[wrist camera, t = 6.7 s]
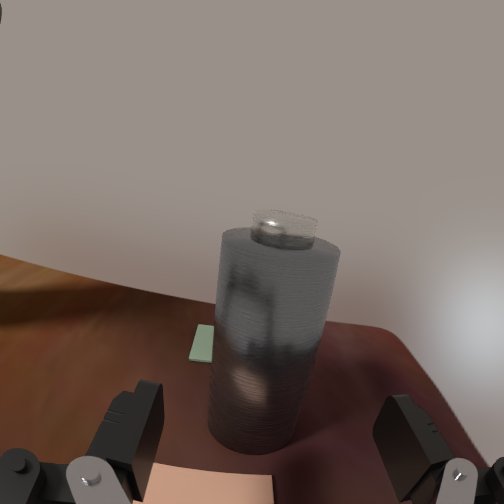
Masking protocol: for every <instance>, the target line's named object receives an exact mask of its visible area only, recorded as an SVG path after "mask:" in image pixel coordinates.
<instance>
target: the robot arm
mask: <svg viewBox="0 0 504 504" xmlns="http://www.w3.org/2000/svg"><path fill="white" fill-rule="evenodd" d="M1 15H2V8H1V4H0V22H1ZM163 425H164V401H163V386H162V384H161V383H156V382H151V381H146V380H140V381H139V382H138V384H137V386H136V389H135V391H134V393H132V392H127V391H123V392H122V393H120V394H119V395H118V396H117V397H115V398H114V399H113V401H112V403H111V405H110V407H109V409H108V412H106V414H105V416H104V420H103V421H102V422H101V424H100V426H99V429H98V431H97V433H96V435H95V437H94V439H93V441H92V443H91V445H90V447H89V449H88V451H87V453H86V454H85V456H83V457H79V458H77V459H75V460H73V461H72V462H71V463H70V464H53V463H44V462H39V461H38V459H37V458H36V456H35V455H34V454H33V453H31V452H30V451H28V450H25V449H21V448H15V449H11V450H8V451H6V452H5V453H4V454H3V455H2V456H1V457H0V504H133V500H135V501H139V502H143V500H144V496H145V492H146V489H147V485H148V481H149V477H150V474H151V470H152V466H153V463H154V459H155V455H156V452H157V448H158V444H159V441H160V437H161V434H162V430H163ZM373 438H374V441H375V443H376V445H377V448H378V450H379V453H380V455H381V458H382V460H383V462H384V465H385V467H386V470H387V472H388V475H389V477H390V480H391V482H392V485H393V487H394V490H395V492H396V495H397V498H398V500H399V502H403V501H407V500H411V501H412V503H413V504H495V503H496V502H498V504H504V457H501V458H499V459H498V460H497V461H496V462H495V463H494V464H493V466H492V467H489V468H476V467H475V466H474V464H473V463H471V462H470V461H468V460H466V459H463V458H455V456H454V454H453V453H452V451H451V450H450V448H449V446H448V445H447V443H446V441H445V440H444V438H443V437H442V435H441V433H440V432H438V429H437V427H436V425H434V422H433V421H432V419H431V418H430V416H429V414H428V413H427V412H425V411H424V410H423V409H422V408H420V407H419V406H416V405H415V403H414V402H413V400H412V399H411V397H410V396H409V395H407V394H405V395H393V396H388V397H387V399H386V400H385V403H384V405H383V407H382V409H381V411H380V413H379V415H378V417H377V419H376V421H375V424H374V427H373Z"/></svg>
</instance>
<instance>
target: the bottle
mask: <svg viewBox="0 0 504 504" xmlns="http://www.w3.org/2000/svg"><path fill="white" fill-rule="evenodd" d="M316 227H317V220H315V219H314V218H311V217H308V216H304V215H300V214H295V213H290V212H283V211H274V210H256V211H254V212H253V219H252V227H250V228H235V229H230V230H227V231H225V232H224V233H223V235H222V243H221V253H220V264H219V274H218V286H217V298H216V308H215V320H214V333H213V346H212V360H211V374H210V390H209V406H208V427H209V430H210V432H211V434H212V435H213V437H214V438H215V439H216V440H217V441H218V442H219V443H220V444H222V445H223V446H225V447H226V448H228V449H230V450H233V451H235V452H239V453H243V454H249V455H261V454H267V453H271V452H274V451H277V450H279V449H281V448H282V447H284V446H285V445H286V444H287V443H288V442H289V441H290V439H291V438H292V436H293V433H294V430H295V427H296V424H297V421H298V417H299V414H300V411H301V408H302V405H303V401H304V398H305V395H306V391H307V388H308V384H309V381H310V378H311V374H312V370H313V367H314V363H315V360H316V356H317V352H318V348H319V345H320V341H321V337H322V333H323V329H324V325H325V321H326V316H327V312H328V308H329V304H330V299H331V295H332V290H333V286H334V281H335V277H336V272H337V267H338V262H339V257H340V250H339V248H338V247H336V246H335V245H333V244H331V243H329V242H327V241H325V240H322V239H319V238H317V237H315V233H316Z"/></svg>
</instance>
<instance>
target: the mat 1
mask: <svg viewBox="0 0 504 504" xmlns="http://www.w3.org/2000/svg"><path fill="white" fill-rule="evenodd" d="M213 333H214V326H209V325H201V324H198V328H197V331H196V335H195V338H194V342H193V345H192V349H191V352H190V356H189V360H191V361H199V362H207V363H211V360H212V346H213Z"/></svg>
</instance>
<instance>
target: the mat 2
mask: <svg viewBox="0 0 504 504" xmlns="http://www.w3.org/2000/svg"><path fill="white" fill-rule="evenodd" d="M133 504H274V499H273V487H272V475H249V474H233V473H221V472H211V471H202V470H194V469H187V468H181V467H174V466H169V465H163V464H158V463H153V466H152V470H151V474H150V477H149V481H148V485H147V489H146V492H145V496H144V500H143V502H139V501H135V500H133Z"/></svg>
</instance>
